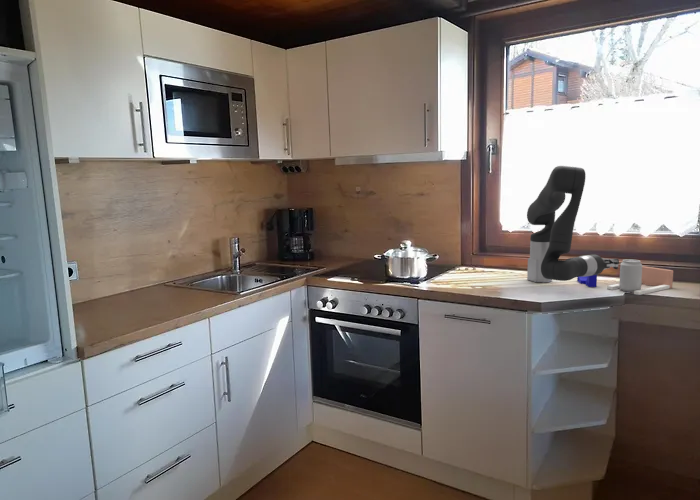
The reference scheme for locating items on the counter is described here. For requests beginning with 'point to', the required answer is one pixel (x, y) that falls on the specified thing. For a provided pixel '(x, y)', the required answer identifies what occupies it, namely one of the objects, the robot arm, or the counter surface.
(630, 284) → the can
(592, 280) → the cable clip
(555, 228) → the robot arm
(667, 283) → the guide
